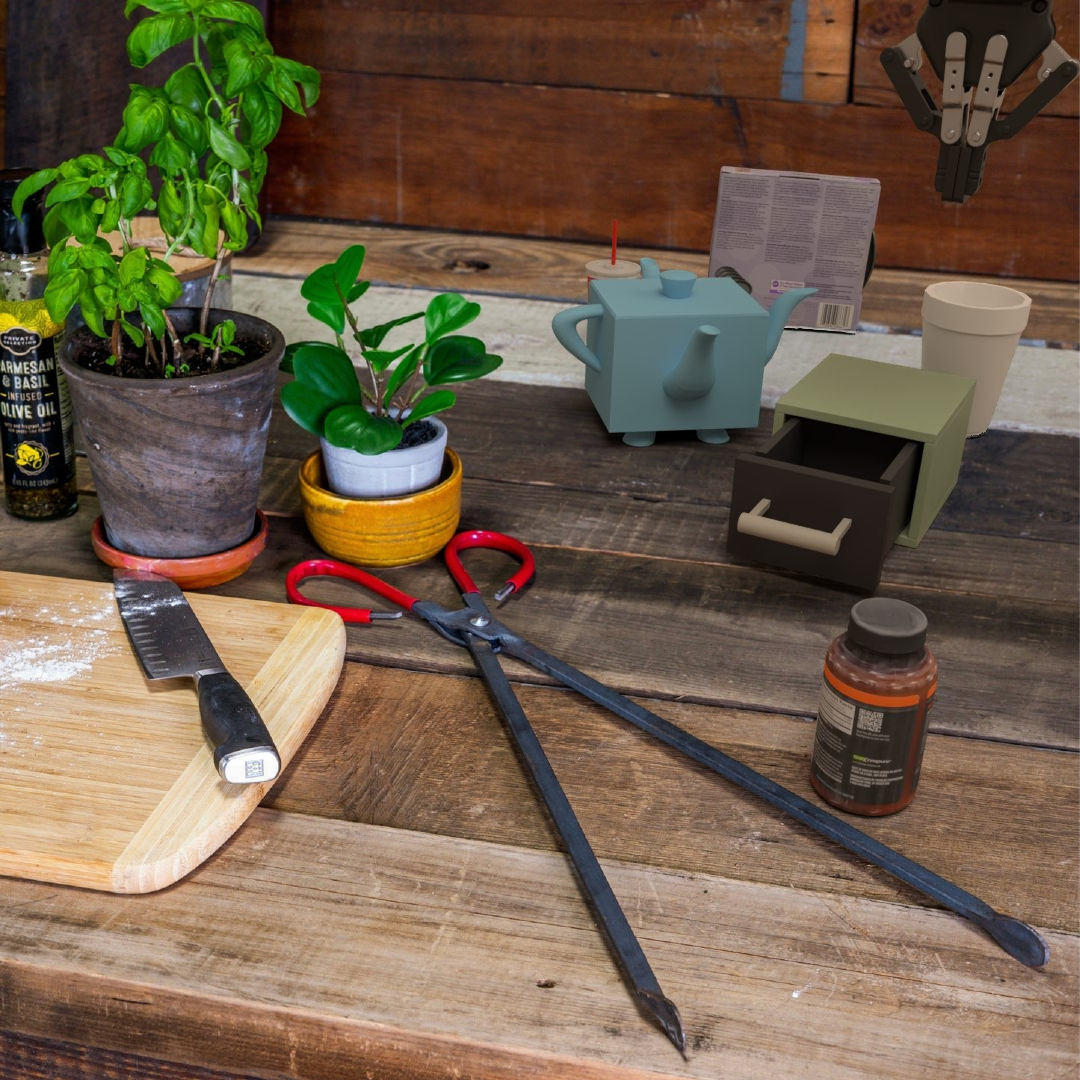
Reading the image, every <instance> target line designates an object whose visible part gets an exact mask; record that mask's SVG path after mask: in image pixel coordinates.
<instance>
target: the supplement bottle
mask: <svg viewBox="0 0 1080 1080" xmlns="http://www.w3.org/2000/svg"><path fill="white" fill-rule="evenodd" d="M928 625H929V621H928V618H927V615H925V613H924V612H923V611H922V610H921V609H920V608H918V607H916V606H915V605H913V604H911V603H909V602H907V601H904V600H900V599H896V598H890V597H870V598H865V599H862V600H860V601H858V602H856V603H855V604H854V605H853V606H852V607H851V609H850V613H849V621H848V624H847V627H846V628H847V630H846V631H844V632H842V633H840V634H839V635H837V636H836V637H834V639H833V640H832V642H831V643H829V646H828V648H827V651H826V654H825V658H824V659H825V660H824V667H823V672H822V679H821V687H820V694H819V702H818V708H817V715H816V716H817V717H816V723H815V732H814V737H813V744H812V752H811V761H810V769H809V770H810V773H809V777H810V781H811V784H812V786H813V788H814V789H815V791H816V792H817V793H818V795H819V796H821V797H822V798H823V799H824V800H825V801H826V802H828V803H829V804H831V805H832V806H834V807H837V808H839V809H841V810H844V811H846V812H850V813H852V814H855V815H856V814H857V815H864V816H873V817H874V816H875V817H877V816H886V815H891V814H893V813H897V812H899V811H902V810H903V809H905V808H906V807H907V806H909V805H910V804H912V801H913V800H914V798H915V796H916V793H917V788H918V786H919V782H920V777H921V770H922V766H923V761H924V760H923V758H924V755H925V749H926V744H927V739H928V733H929V728H930V723H931V718H932V717H931V716H932V711H933V706H934V701H935V696H936V689H937V684H938V677H939V665H938V660H937V657H936V656H935V654H934V653H933V652H932V650H931V649H930V648H929V647H928V646H927V645H926V642H927V631H928Z"/></svg>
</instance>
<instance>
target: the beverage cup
mask: <svg viewBox="0 0 1080 1080" xmlns="http://www.w3.org/2000/svg"><path fill="white" fill-rule="evenodd" d="M618 221H619V220H618V219H613V222H612V240H611V259H609V258H607V259H597V260H596V259H595V260H591V261H589V262H587V263H585V268H584V269H585V275H586V276H587V298H588V297H589V282H590V280H605V279H639V278H640V277H641V273H642V271H641V265H640V264H638V263H635V262H633V261H630V260H629V261H628V260H623V259H617V242H618V241H617V240H618V226H619V225H618V224H619V223H618Z"/></svg>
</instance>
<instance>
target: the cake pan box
mask: <svg viewBox="0 0 1080 1080" xmlns="http://www.w3.org/2000/svg"><path fill="white" fill-rule="evenodd" d="M717 189H718V190H717V197H716V206H715V214H714V220H713V225H712V231H711V238H710V239H711V240H710V246H709V259H708V269H707V278H720V277H731V278H732V280H734V281H735V282H736V283H737V284H738V285H739V286H740V287H741V288H743V289H744V290H745V291H746V292H747V293H748V294H749V295H750V296H751V297H752V298H753V299H754V300H755V301H756V302H758V303H759V304H760V305H761V306H762V307H763V308H764V309H765V310H766V311H767V312H769V310H770V308H771V306H772V305H773V303H774V302H775V300H776V299H777V298H778V297H779V296H780V295H781V294H782V293H784V292H785V291H787V290H790V289H796V288H815V289H819V291H818V292H816V293H815V294H813V295H811V296H809V297H807V298H805V299H804V300H802V301H801V302H800V303H799V304H798V305H797V306H796V307H795V308H794V310H793V311H792V313H791V314H790V316H789V318H788V320H787V322H786V325H785V326H808V327H817V328H830V329H833V328H834V329H857V330H858V328H857V327H859V322H860V315H861V310H862V304H863V303H862V302H863V296H864V291H863V290H864V289H865V288H866V286H867V284H868V282H869V281H870V279H871V276H872V275H873V271H874V267H875V263H876V259H877V237H876V230H875V225H876V220H877V213H878V208H879V202H880V196H881V190H882V186H881V182H880V180H879V179H878V178H873V177H857V176H845V175H834V174H833V175H832V174H822V173H821V174H820V173H811V172H803V171H802V172H800V171H792V170H791V171H790V170H789V171H788V170H776V169H762V168H761V169H760V168H750V167H749V168H748V167H737V166H727V165H726V166H725V165H723V166H721V167H720V172H719V179H718V188H717Z"/></svg>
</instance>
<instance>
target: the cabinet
mask: <svg viewBox="0 0 1080 1080" xmlns="http://www.w3.org/2000/svg"><path fill="white" fill-rule="evenodd" d="M976 382H977V379H973V378H967V377H962V376H956V375H951V374H945V373H940V372H934V371H929V370H923V369H921V368H917V367H911V366H906V365H902V364H901V365H900V364H895V363H889V362H883V361H878V360H874V359H873V360H872V359H867V358H863V357H862V358H861V357H856V356H850V355H846V354H840V353H834V352H829V354H828V355H827V356H825V357H824V358H823V359H822V360H821V361H820V362H819V363H818V364H817V365H815V367H813V368H812V369H811V370H810V371H809V372H807V374H805V376H803V377H802V378H801V379H800V380H799V381H798V382H797V383H795V385H794V386H792V387H791V388H790V389H789V390H788V391H787V392H786V393H784V395H782V396H781V397H780V398H779V399H778V400H777V401H776V402H775V407H774V413H773V415H774V416H773V421H772V422H773V423H772V432H771V437H772V436H773V435H774V434H775V433H776V432H777V431H778V430H779V429H780V428H781V427H782V426H783V425H784V424H785V423H786V422H787V421H788V420H789V419H790V418H792V417H793V416H799V417H804V418H809V419H814V420H819V421H824V422H829V423H833V424H838V425H843V426H848V427H853V428H858V429H863V430H868V431H872V432H877V433H882V434H887V435H892V436H897V437H902V438H907V439H912V440H916V441H921V442H925V444H924V449H923V455H922V461H921V466H920V472H919V477H918V483H917V489H916V494H915V500H914V505H913V511H912V516H911V518H910V520H909V521H908V523H907V524H906V526H905V527H904V529H903V530H902V532H901V533H900V535H899V536H898V538H897V539H896V541H895V542H894V544H895V545H899V546H902V547H903V546H904V547H907V548H911V549H918V546H919V545H920V543H921V541H922V540H923V538H924V537H925V535H926V533H927V532H928V530H929V529H930V527H931V525H932V524H933V523H934V520H935V519H936V517H937V516H938V514H939V513H940V511H941V509H942V508H943V506H944V505H945V503H946V501H947V500H948V498H949V496H950V495H951V493H952V492H953V491H954V488H955V487H956V486H957V484H958V480H959V474H960V469H961V464H962V460H963V454H964V449H965V445H966V440H967V439H966V434H967V429H968V424H969V418H970V413H971V408H972V403H973V398H974V393H975V387H976Z"/></svg>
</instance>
